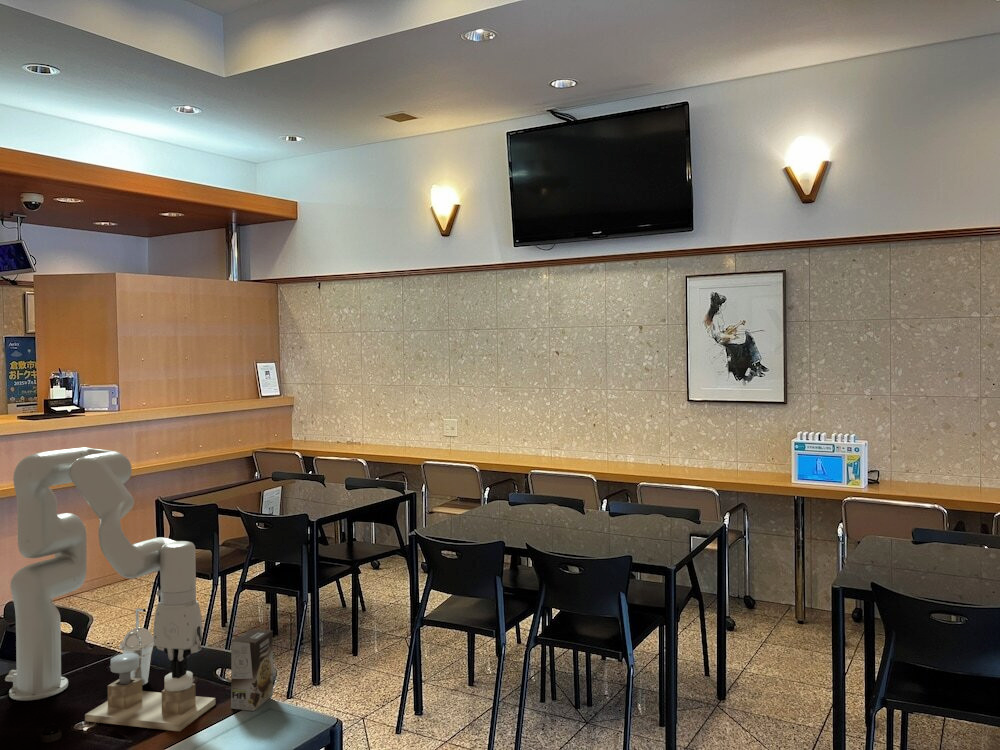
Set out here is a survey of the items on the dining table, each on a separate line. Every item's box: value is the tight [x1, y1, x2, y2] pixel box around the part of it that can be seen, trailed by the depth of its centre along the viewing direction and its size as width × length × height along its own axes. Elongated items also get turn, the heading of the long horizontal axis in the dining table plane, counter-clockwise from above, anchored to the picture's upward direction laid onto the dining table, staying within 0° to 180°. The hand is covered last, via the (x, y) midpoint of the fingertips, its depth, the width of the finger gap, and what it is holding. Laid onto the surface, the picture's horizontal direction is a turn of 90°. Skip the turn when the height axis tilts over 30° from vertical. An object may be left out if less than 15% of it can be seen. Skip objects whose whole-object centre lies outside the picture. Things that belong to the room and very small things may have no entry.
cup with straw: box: [119, 607, 155, 686], centre depth 199 cm, size 8×9×20 cm
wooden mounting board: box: [84, 678, 216, 732], centre depth 183 cm, size 24×14×6 cm, turn 78°
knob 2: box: [164, 670, 194, 691], centre depth 181 cm, size 6×6×8 cm
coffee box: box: [230, 628, 274, 712], centre depth 188 cm, size 9×6×16 cm
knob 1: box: [110, 653, 139, 685], centre depth 184 cm, size 6×6×8 cm
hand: (179, 675), depth 181 cm, fingers closed
